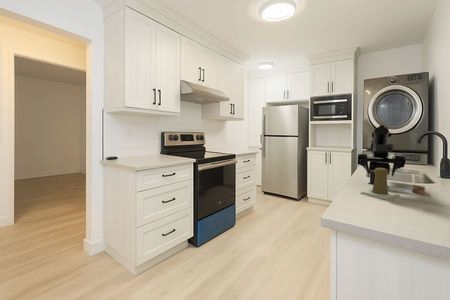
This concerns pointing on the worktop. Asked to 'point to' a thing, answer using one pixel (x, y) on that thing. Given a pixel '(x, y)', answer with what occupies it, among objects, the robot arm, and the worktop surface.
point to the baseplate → (381, 196)
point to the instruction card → (400, 190)
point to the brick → (418, 189)
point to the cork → (380, 181)
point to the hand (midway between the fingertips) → (380, 174)
